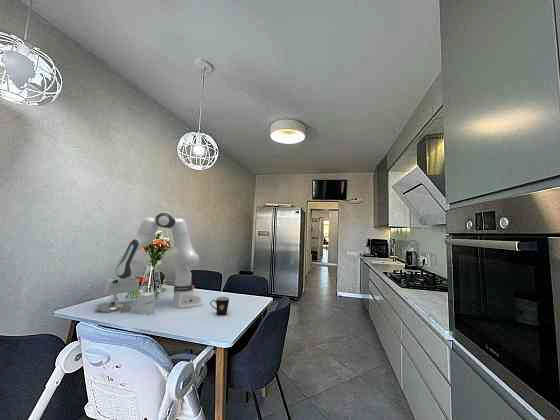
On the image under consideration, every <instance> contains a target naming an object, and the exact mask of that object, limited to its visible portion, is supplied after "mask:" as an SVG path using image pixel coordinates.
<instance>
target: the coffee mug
mask: <svg viewBox="0 0 560 420" xmlns="http://www.w3.org/2000/svg"><path fill="white" fill-rule="evenodd" d="M213 302H215V304H216V307H215V306H214V305H213V304H212V303H213ZM229 302H230V297H228V296H217V297H216V298H215V299H212V300H211V301H210V302H209V304H210V306H211V307H212V308H214V309H215V310H216V315H217V316H226V315H228V309H229Z"/></svg>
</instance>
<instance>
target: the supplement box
mask: <svg viewBox="0 0 560 420" xmlns="http://www.w3.org/2000/svg"><path fill="white" fill-rule="evenodd" d="M155 297H156V293H155V292H149V291H147V292H142V293H138V294H137V299H136V308H135V313H136V314H140V315H145V316H148V315H151V314H154V311H155V310H154V309H155V299H156V298H155Z"/></svg>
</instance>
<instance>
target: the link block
mask: <svg viewBox="0 0 560 420" xmlns="http://www.w3.org/2000/svg"><path fill="white" fill-rule="evenodd" d="M131 311H132V305H125V306H122V308H121V310H120V313H121V314H124V313H125V314H126V313H131Z"/></svg>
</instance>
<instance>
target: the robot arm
mask: <svg viewBox="0 0 560 420" xmlns="http://www.w3.org/2000/svg"><path fill="white" fill-rule="evenodd" d="M159 228H163V229H164V228H165V229H170V230H171V234H172V241H173V245H174V247H175V248H176V251H173V253H172V255H171V261H172V263H173V266H174V271H175V279H174V286H173V296H172V297H173V298H172V300H171V304H170V306H171V307H173V308H179V309H185V308H192V307H200V306H203V305H204V300H203V299H201V294H200V293H199V292H198V291H196V290H195V285H194V284H192V275H193V274H192V272H191V270H190V268H191V267H195V266H197V265H198V264H199V262H200V256H199V254H197V252H196V251H195V249H194V247H193V245H192V243H191V239H190V234H189V230H188V226H187V223H186V220H185V219H184V218H179V217H178V218H175V217H174V215H173V213H172V212H171V211H168V210H162V211H161V212H158V214H156V216H155V217H151V216H149V217H144V219H143V220H142V222H141V223H140V225H139V228H138V229H137V230H138V231H137V233H136V235H135V237H134V238H133V240H132V241H130V242H129V244H128V246H127V248H126V250H125V252H124V255H123V256H121V257H119V258H118V262H117V267H115V268H116V269H115V275H116V276H114V277H111V278H108V279H107V283H106V285H105V288H104V294H105V295H106V296H111V295H112V296H113V297H114V298H115V302H117V301H118V298H119V297H117V295H118V294H123V293H127V294H126V295H125V297H124V299H125V300H126V299H129V298H130V297H129V296H130V295H131V293H132V292H136V291H137V292H138V290H139V288H140V284H139V283H140V278H138V277H134V276H139V275H141V274H143V273H144V271H145V267H146V266H145V263H144V262H142V261H140V260H137V259H135V257H136V255H137V253H138V252H139V251H140V250H141V249H143V248H145V247H147V246H149V245H151V244H152V243H153V241H154V240H155V238H156V235H157V231H158V229H159Z"/></svg>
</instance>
